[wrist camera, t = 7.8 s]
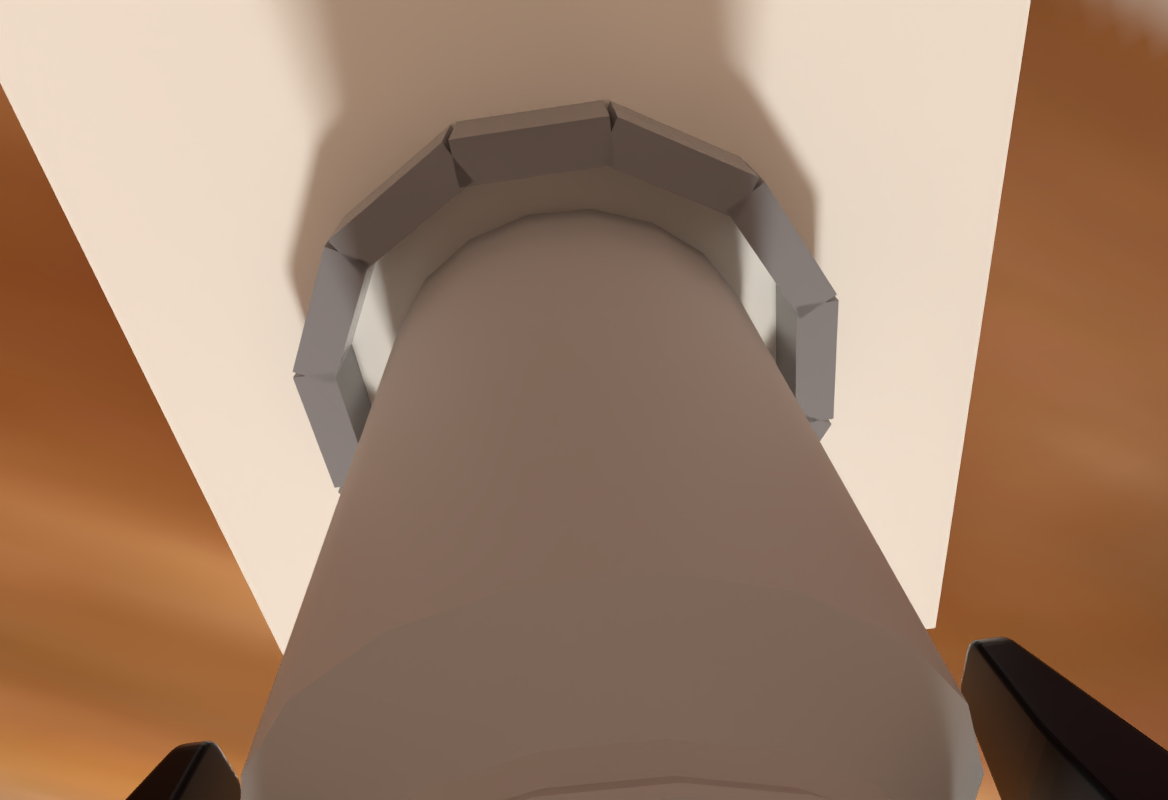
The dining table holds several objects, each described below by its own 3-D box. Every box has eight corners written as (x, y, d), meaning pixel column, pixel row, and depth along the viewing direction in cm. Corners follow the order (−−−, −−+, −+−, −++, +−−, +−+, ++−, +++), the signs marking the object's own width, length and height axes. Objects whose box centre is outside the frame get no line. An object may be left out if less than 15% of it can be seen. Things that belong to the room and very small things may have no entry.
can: (324, 319, 16) (-69, 1023, 6) (639, 117, 14) (919, 599, 4) (526, 546, 19) (514, 1239, 9) (798, 407, 18) (1168, 1067, 7)
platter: (1039, -293, 12) (1146, -343, 10) (919, 601, 22) (960, 671, 20) (-58, -118, 13) (-180, -131, 10) (318, 681, 23) (296, 757, 21)
